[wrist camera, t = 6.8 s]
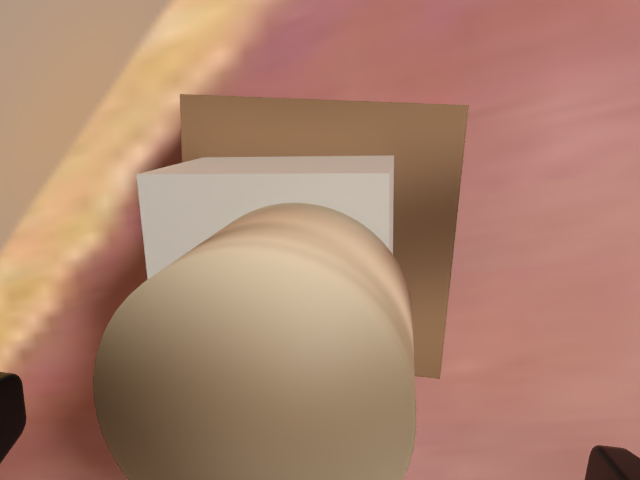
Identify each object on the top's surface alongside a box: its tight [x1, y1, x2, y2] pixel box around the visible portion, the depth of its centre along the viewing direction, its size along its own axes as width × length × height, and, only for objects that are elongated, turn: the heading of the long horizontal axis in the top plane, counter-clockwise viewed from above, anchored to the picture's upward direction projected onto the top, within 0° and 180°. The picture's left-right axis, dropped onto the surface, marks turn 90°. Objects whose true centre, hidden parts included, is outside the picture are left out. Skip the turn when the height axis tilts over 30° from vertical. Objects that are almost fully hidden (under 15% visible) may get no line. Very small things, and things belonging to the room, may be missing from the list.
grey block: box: [136, 155, 394, 279], centre depth 14 cm, size 6×6×4 cm
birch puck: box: [93, 203, 416, 480], centre depth 10 cm, size 5×5×4 cm
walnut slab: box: [180, 94, 469, 379], centre depth 17 cm, size 8×8×4 cm
